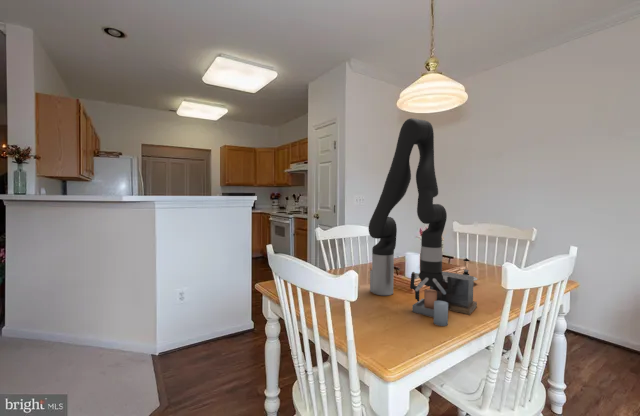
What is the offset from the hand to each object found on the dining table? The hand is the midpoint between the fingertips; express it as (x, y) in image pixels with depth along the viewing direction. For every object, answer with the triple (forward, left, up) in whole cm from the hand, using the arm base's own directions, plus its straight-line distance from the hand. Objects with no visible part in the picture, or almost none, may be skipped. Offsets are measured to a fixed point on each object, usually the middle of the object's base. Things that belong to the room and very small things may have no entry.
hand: (430, 302), depth 113 cm
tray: (0, 0, -3) cm, 3 cm away
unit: (+4, +11, -3) cm, 12 cm away
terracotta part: (0, 0, -3) cm, 3 cm away
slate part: (+7, -8, -4) cm, 11 cm away
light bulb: (0, +47, -4) cm, 47 cm away
